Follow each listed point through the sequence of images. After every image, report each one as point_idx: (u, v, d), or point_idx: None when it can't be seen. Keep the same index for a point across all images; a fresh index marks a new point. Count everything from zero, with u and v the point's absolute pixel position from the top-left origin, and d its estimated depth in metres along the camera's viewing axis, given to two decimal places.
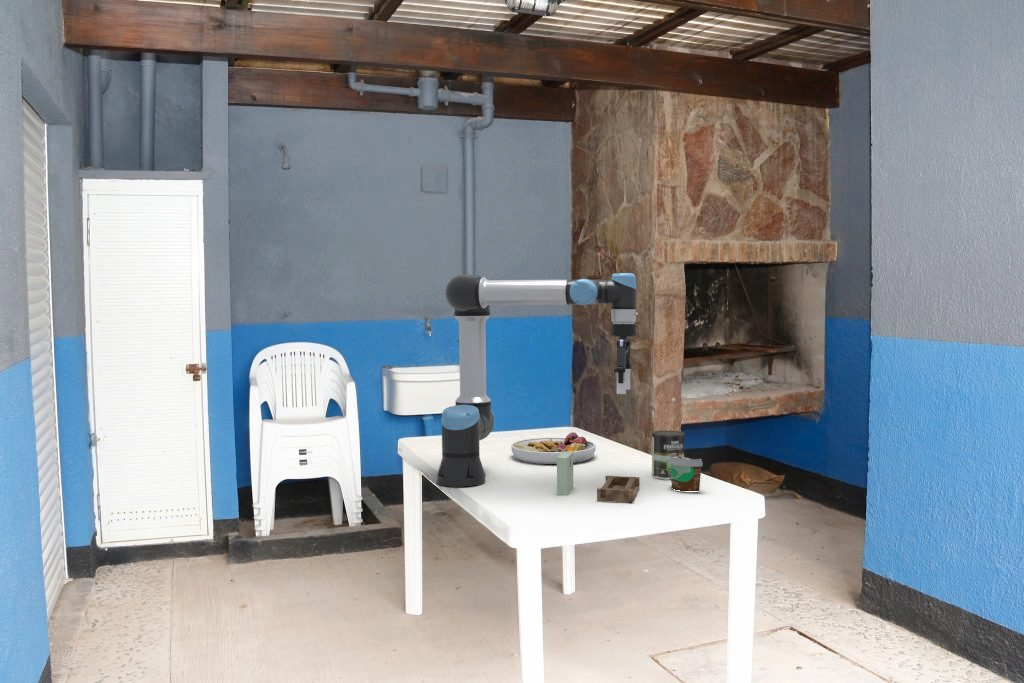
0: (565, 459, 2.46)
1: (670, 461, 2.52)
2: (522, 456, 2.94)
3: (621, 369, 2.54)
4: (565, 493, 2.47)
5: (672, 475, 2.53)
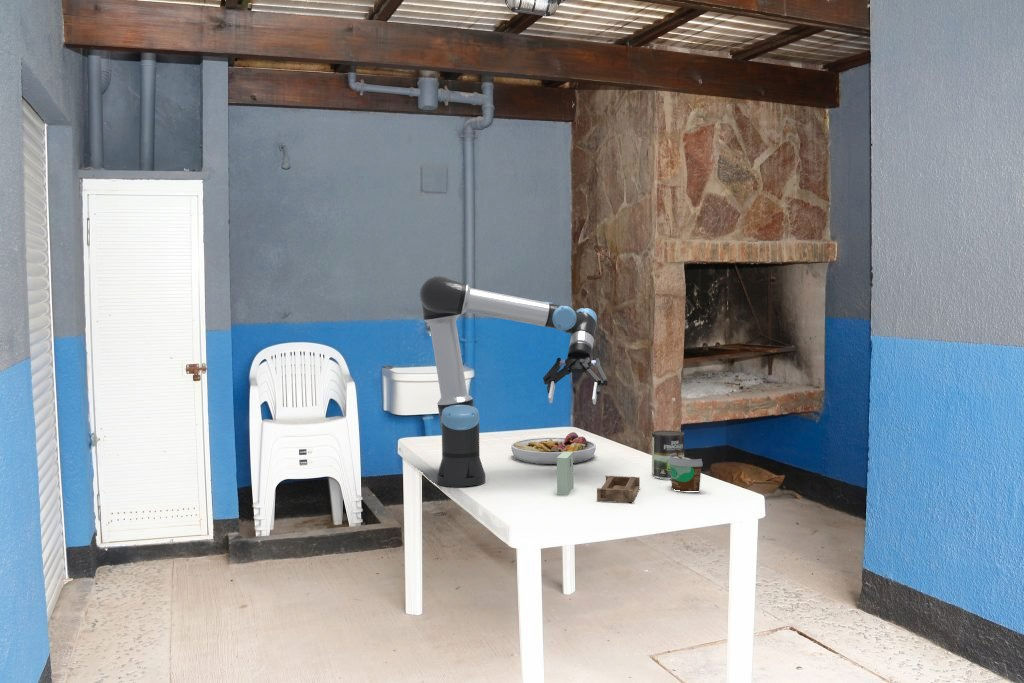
0: (565, 459, 2.46)
1: (670, 461, 2.52)
2: (522, 456, 2.94)
3: (607, 383, 2.63)
4: (565, 493, 2.47)
5: (672, 475, 2.53)
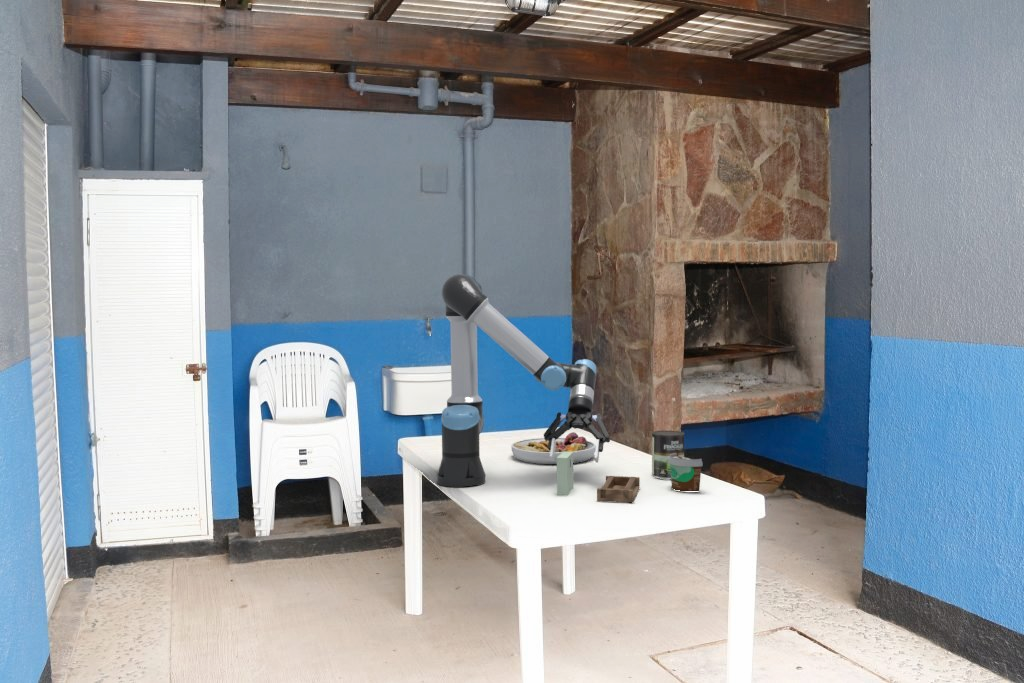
0: (565, 459, 2.46)
1: (670, 461, 2.52)
2: (522, 456, 2.94)
3: (609, 439, 2.58)
4: (565, 493, 2.47)
5: (672, 475, 2.53)
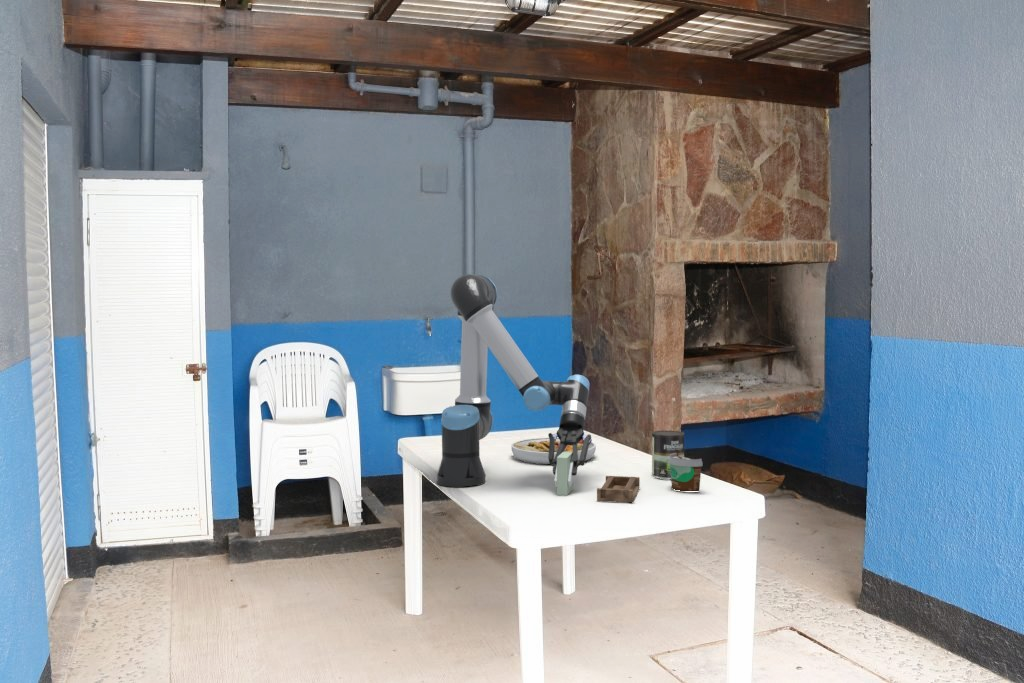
0: (565, 459, 2.46)
1: (670, 461, 2.52)
2: (522, 456, 2.94)
3: (583, 463, 2.52)
4: (565, 493, 2.47)
5: (672, 475, 2.53)
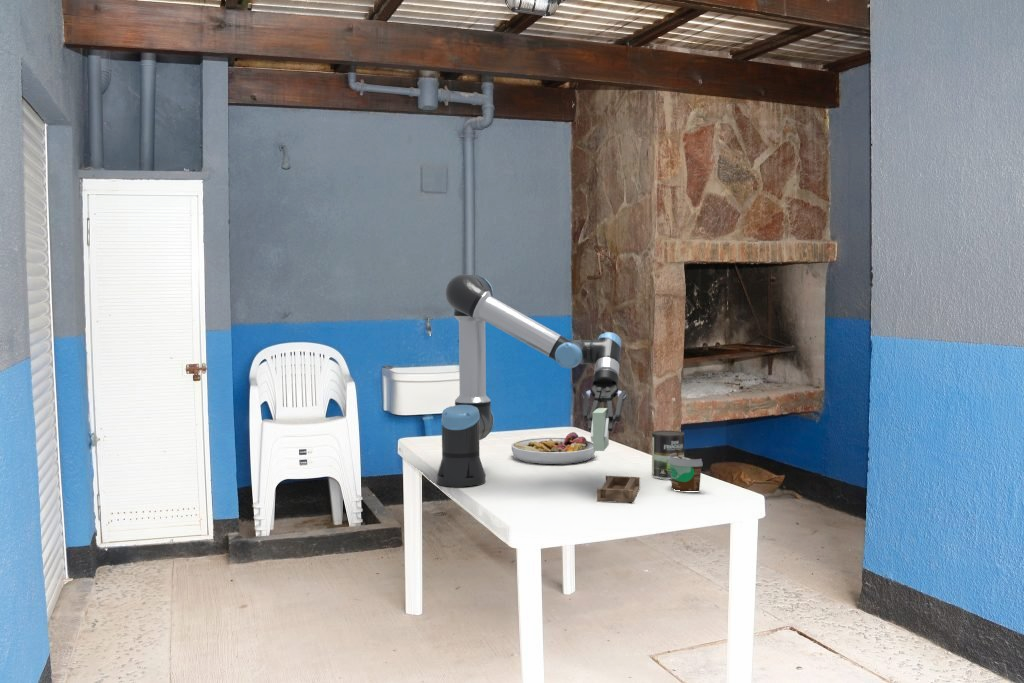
0: (601, 414, 2.43)
1: (670, 461, 2.52)
2: (522, 456, 2.94)
3: (619, 418, 2.48)
4: (602, 448, 2.43)
5: (672, 475, 2.53)
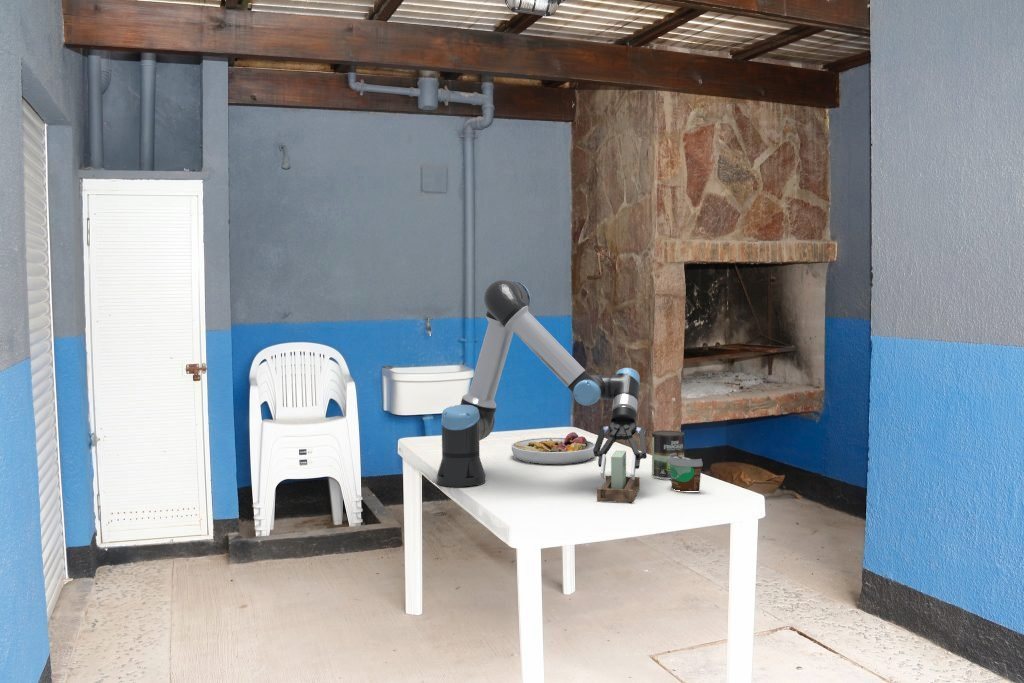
0: (620, 458, 2.42)
1: (670, 461, 2.52)
2: (522, 456, 2.94)
3: (646, 455, 2.47)
4: None
5: (672, 475, 2.53)
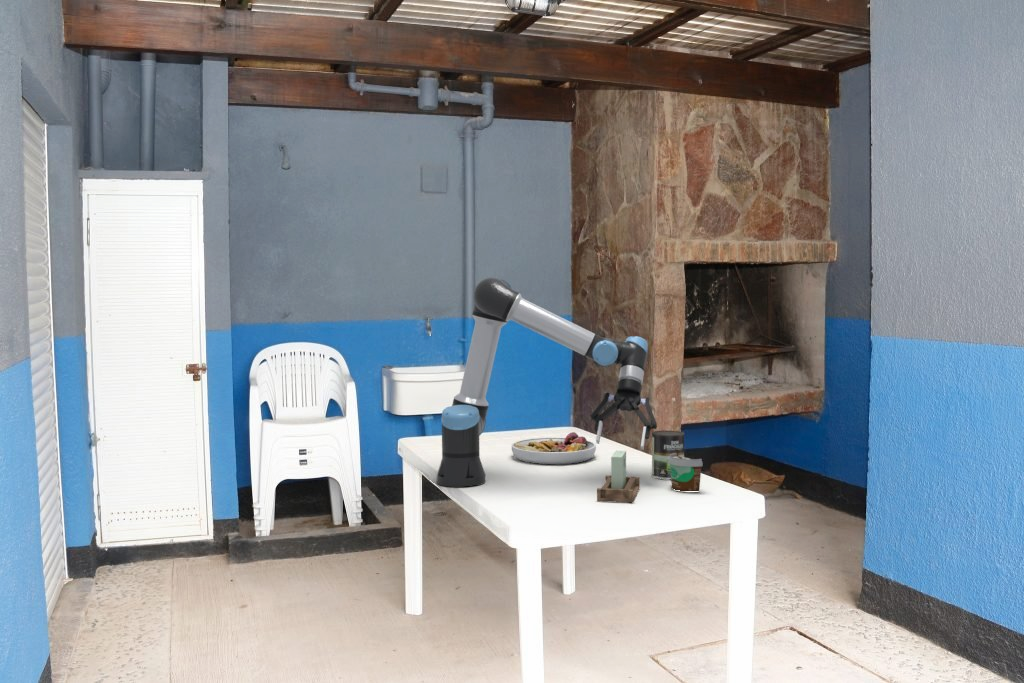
0: (620, 458, 2.41)
1: (670, 461, 2.52)
2: (522, 456, 2.94)
3: (656, 426, 2.59)
4: None
5: (672, 475, 2.53)
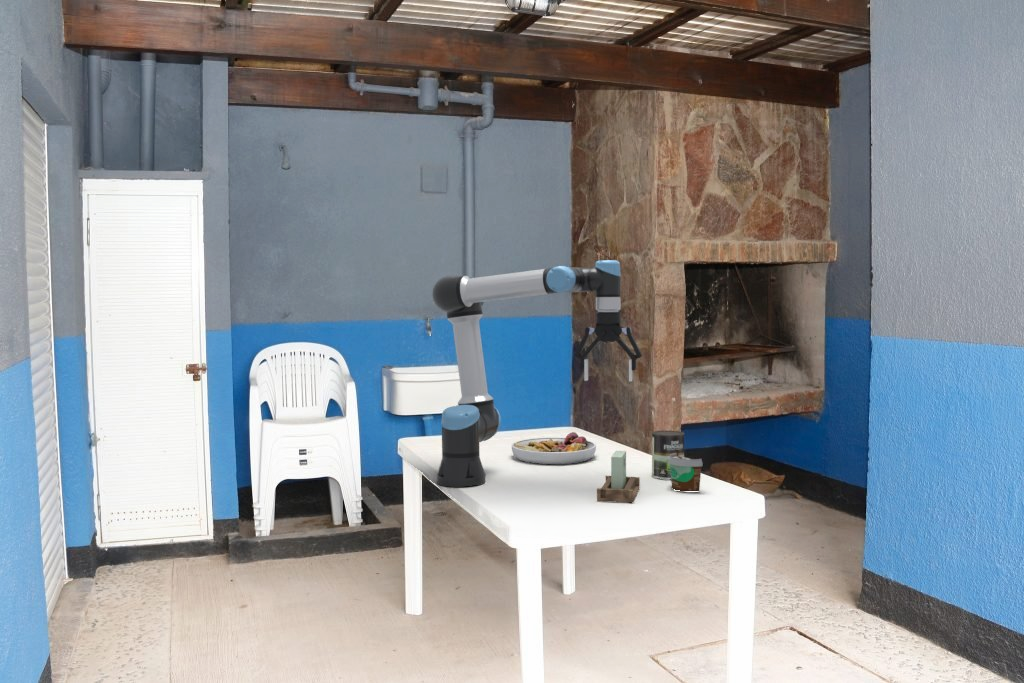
0: (620, 458, 2.41)
1: (670, 461, 2.52)
2: (522, 456, 2.94)
3: (641, 355, 2.58)
4: None
5: (672, 475, 2.53)
